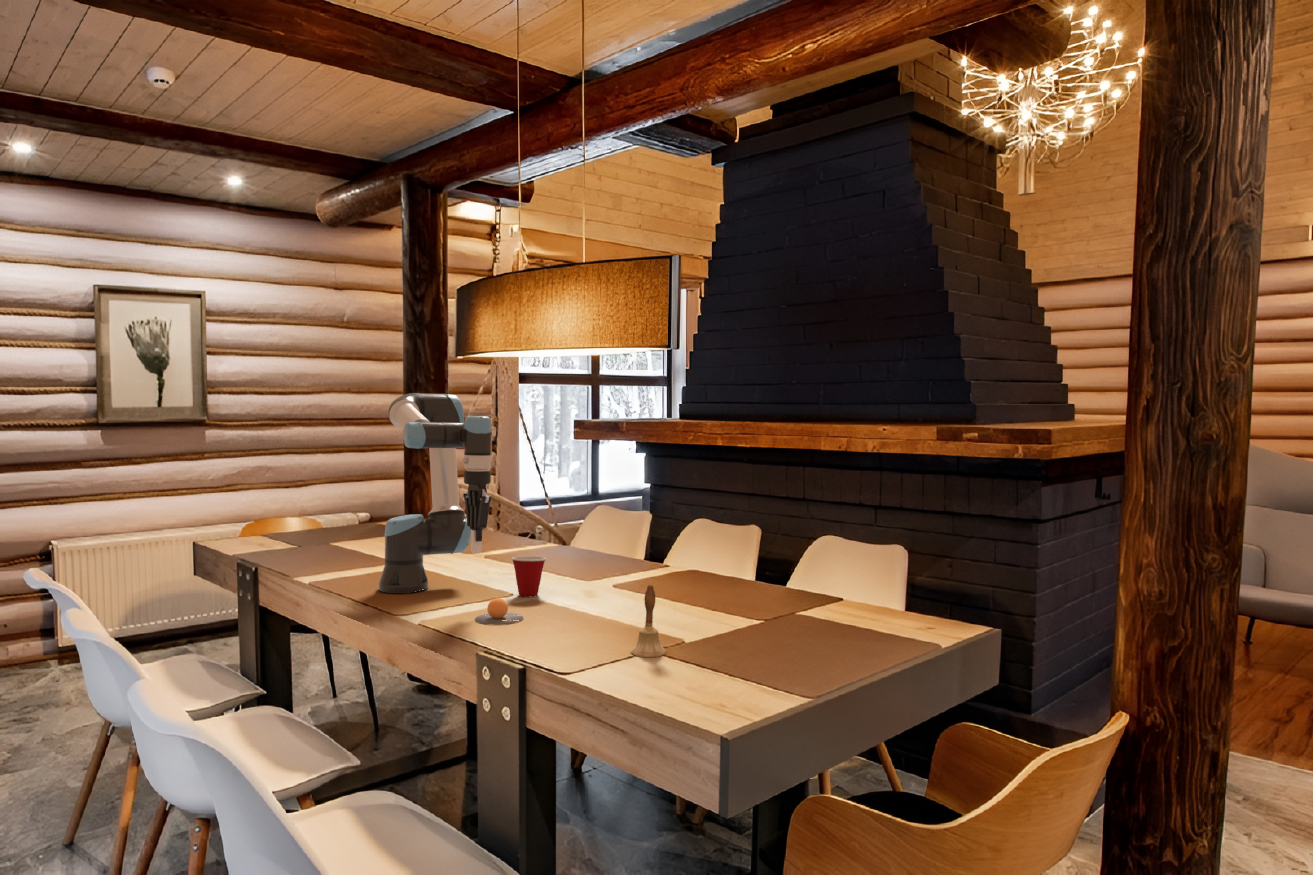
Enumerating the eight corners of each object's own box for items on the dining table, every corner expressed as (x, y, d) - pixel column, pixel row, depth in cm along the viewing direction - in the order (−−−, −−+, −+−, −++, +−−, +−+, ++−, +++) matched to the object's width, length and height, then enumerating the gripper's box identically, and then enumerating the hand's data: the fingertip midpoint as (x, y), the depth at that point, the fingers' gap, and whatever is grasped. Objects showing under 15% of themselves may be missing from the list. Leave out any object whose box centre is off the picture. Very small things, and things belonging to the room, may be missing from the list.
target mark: (466, 617, 222) (466, 616, 222) (508, 611, 230) (508, 610, 230) (488, 627, 212) (488, 626, 212) (532, 620, 220) (532, 619, 220)
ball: (486, 622, 221) (482, 603, 223) (504, 620, 224) (500, 601, 226) (495, 616, 217) (490, 596, 219) (513, 613, 220) (508, 594, 223)
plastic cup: (549, 592, 257) (550, 554, 257) (541, 599, 246) (542, 560, 246) (516, 590, 258) (516, 553, 258) (506, 598, 247) (507, 559, 247)
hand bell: (646, 645, 197) (647, 580, 197) (672, 652, 192) (674, 585, 192) (623, 653, 191) (624, 585, 190) (650, 660, 186) (651, 590, 185)
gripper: (455, 469, 234) (454, 550, 234) (475, 471, 224) (474, 556, 224) (478, 468, 239) (477, 548, 239) (500, 471, 228) (499, 554, 229)
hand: (476, 552), depth 232 cm, fingers closed
